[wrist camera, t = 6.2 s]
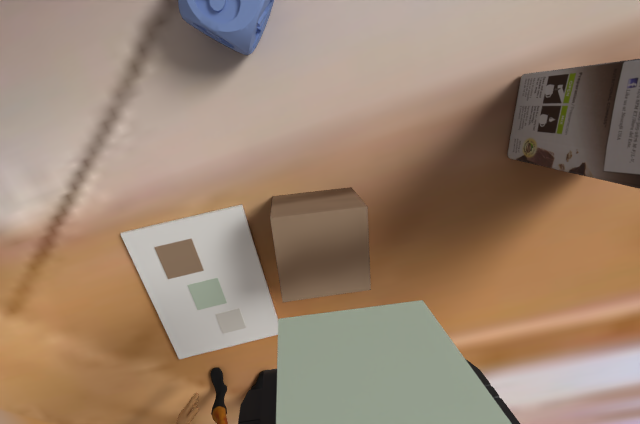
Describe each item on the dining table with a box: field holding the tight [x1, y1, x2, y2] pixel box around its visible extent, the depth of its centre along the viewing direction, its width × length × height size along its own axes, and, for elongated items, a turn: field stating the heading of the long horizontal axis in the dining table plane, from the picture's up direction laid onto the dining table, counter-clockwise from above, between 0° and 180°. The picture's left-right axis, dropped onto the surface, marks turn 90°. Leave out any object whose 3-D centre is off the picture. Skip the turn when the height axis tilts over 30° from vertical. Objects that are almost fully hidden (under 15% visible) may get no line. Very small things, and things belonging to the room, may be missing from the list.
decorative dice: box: [178, 0, 274, 55], centre depth 17 cm, size 4×4×4 cm
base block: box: [270, 187, 371, 302], centre depth 22 cm, size 6×6×5 cm
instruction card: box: [120, 204, 278, 359], centre depth 25 cm, size 12×9×1 cm
